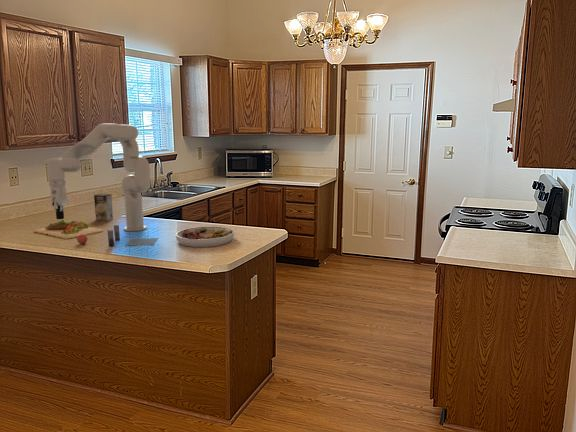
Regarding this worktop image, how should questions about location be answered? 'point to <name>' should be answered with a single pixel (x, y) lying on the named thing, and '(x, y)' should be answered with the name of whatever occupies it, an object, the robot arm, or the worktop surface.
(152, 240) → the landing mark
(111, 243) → the post
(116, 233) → the post
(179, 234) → the bowl
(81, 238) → the ball
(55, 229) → the wooden food tray
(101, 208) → the coffee box
